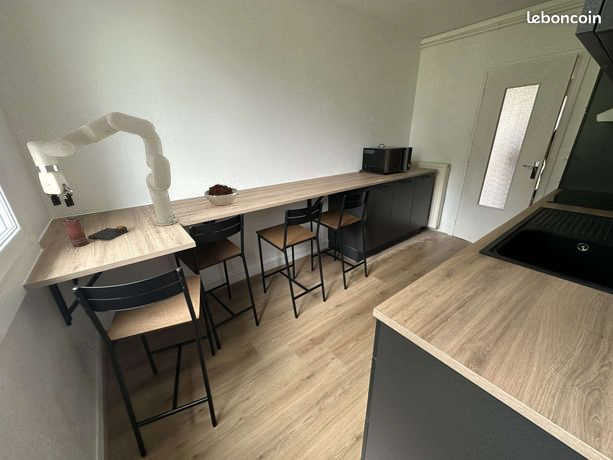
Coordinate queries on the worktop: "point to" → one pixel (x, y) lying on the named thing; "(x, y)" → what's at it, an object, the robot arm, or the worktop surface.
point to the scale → (108, 233)
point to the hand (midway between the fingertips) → (64, 205)
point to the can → (75, 232)
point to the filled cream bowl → (221, 194)
